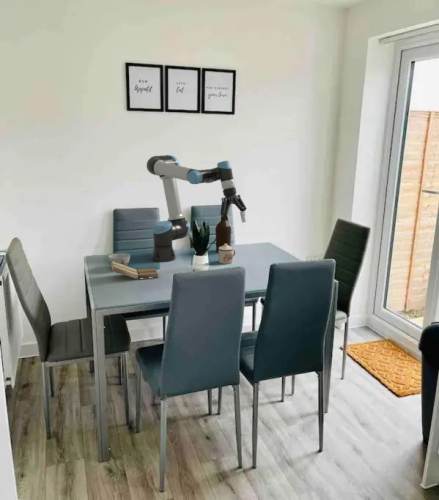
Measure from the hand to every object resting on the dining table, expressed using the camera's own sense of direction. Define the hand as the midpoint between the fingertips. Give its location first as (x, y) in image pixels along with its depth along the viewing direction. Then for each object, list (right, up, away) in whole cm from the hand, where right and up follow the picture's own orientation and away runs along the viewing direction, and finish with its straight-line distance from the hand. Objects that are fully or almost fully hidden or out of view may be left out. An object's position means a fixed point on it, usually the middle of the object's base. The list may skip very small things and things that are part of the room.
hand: (236, 224), depth 256 cm
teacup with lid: (-5, -22, +21) cm, 31 cm away
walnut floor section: (-51, -29, -7) cm, 59 cm away
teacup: (-70, -26, +7) cm, 75 cm away
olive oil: (-8, -16, +44) cm, 48 cm away
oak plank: (-63, -27, -11) cm, 69 cm away
